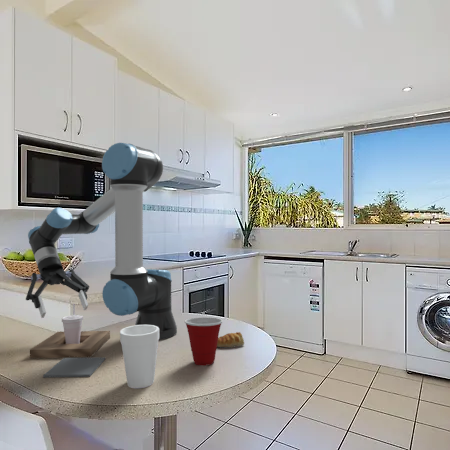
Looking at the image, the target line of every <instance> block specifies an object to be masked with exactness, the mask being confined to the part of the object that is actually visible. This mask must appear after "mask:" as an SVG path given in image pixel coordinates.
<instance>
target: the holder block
mask: <svg viewBox="0 0 450 450" xmlns="http://www.w3.org/2000/svg"><path fill="white" fill-rule="evenodd" d="M110 338H111V332H110V330H87V331H86V330H81V335H80V344H66V340H65V333H64V331H57V332H55V333H54V334H52V335H50V336H49V337H48V338H46V339H44V340H43V341H41V342H39V343H38V344H36V345H35V346H34V347H31V348H30V349H29V359H53V358H55V359H57V358H59V359H60V358H62V359H63V358H92V356H94V354H96V352H97V351H99V350H100V349H101V348H102V346H103V345H105V344H106V343H107V342H108V341H109V340H110Z"/></svg>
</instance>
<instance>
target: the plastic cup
mask: <svg viewBox="0 0 450 450" xmlns="http://www.w3.org/2000/svg"><path fill="white" fill-rule="evenodd" d="M184 323H185V325H186V329H187V334H188V339H189V344H190V351H191V355H192V358H193V359H192V360H193V362H194V364H195V365H196V366H201V367H202V366H204V367H205V366H210V365H213V364H214V363H215V360H216V353H217V348H218V347H217V342H218V338H219V335H220V329H221V326H222V324H223V319H222V318H217V317H211V316H210V317H207V316H206V317H205V316H204V317H203V316H202V317H191V318H187V319H185V320H184Z"/></svg>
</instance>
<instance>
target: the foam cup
mask: <svg viewBox="0 0 450 450" xmlns="http://www.w3.org/2000/svg"><path fill="white" fill-rule="evenodd" d="M159 340H160V339H159V328H158V327H157V326H154V325H135V324H134V325H129V326H126V327H123V328H121V329H120V330H119V341H120V344H121V350H122V357H123V363H124V370H125V377H126V382H127V386H128V387H129V388H131V389H143V388H148V387H150V386H151V385H153V384H154V382H155V375H156V374H155V373H156V367H157V366H156V365H157V355H158V347H159Z"/></svg>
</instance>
